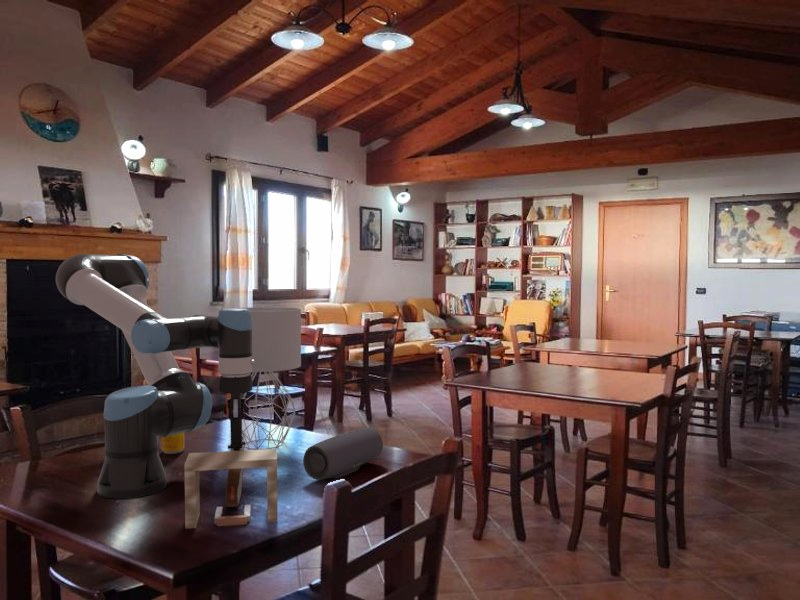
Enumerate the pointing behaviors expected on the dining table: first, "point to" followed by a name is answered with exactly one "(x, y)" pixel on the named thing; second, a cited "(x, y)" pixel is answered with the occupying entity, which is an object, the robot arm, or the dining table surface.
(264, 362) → the table lamp
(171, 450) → the beer can
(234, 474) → the tin
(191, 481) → the overhang
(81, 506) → the dining table surface
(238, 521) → the grey and orange bracket
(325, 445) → the bluetooth speaker
